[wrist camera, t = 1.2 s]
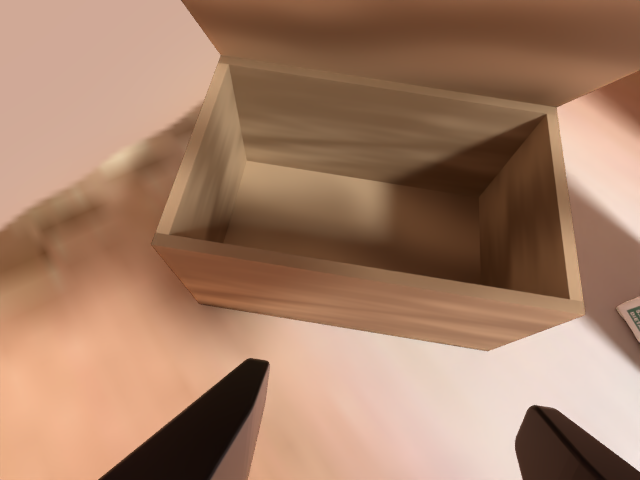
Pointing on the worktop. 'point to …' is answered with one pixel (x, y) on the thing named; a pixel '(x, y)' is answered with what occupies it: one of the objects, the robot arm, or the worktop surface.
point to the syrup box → (631, 315)
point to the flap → (439, 41)
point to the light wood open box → (374, 207)
